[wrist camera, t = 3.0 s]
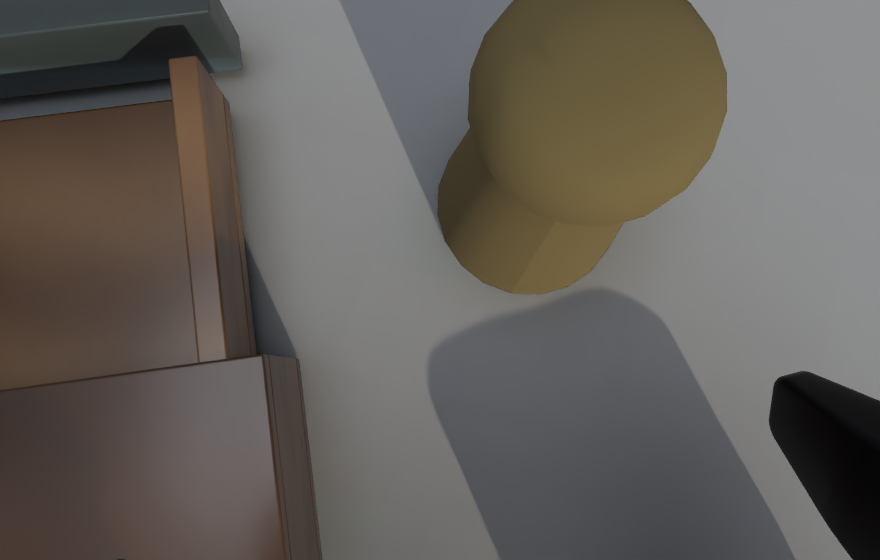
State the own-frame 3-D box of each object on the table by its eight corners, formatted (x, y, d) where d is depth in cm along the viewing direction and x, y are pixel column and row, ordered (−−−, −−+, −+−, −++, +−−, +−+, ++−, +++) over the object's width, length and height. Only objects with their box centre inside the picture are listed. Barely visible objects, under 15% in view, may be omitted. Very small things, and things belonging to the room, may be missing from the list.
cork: (492, 85, 25) (549, -143, 14) (649, 172, 24) (833, 9, 14) (403, 237, 24) (389, 123, 13) (564, 328, 24) (688, 289, 13)
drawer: (-94, -30, 24) (-191, -106, 20) (227, -67, 24) (192, -147, 21) (-67, 496, 22) (-169, 521, 18) (285, 445, 22) (257, 459, 18)
